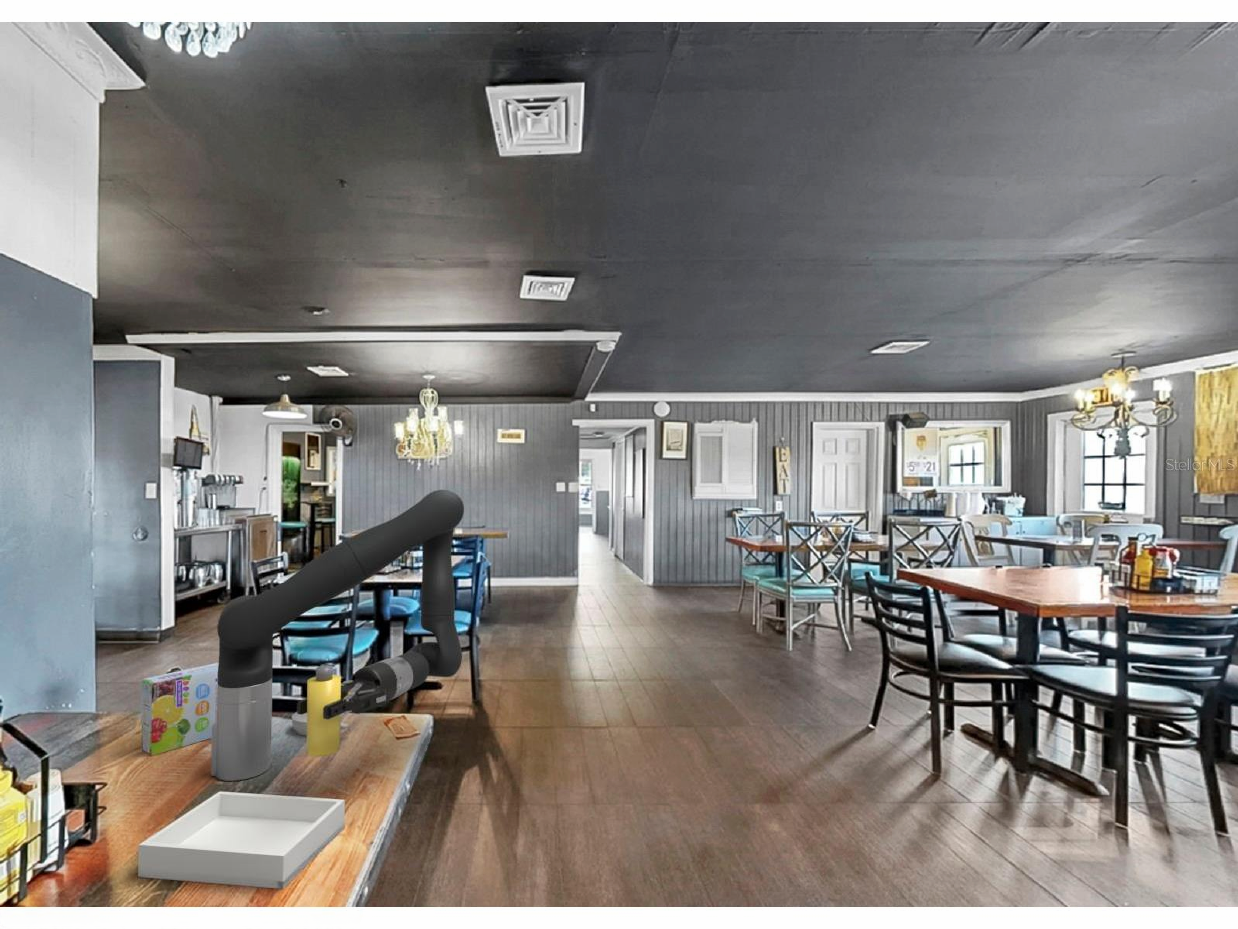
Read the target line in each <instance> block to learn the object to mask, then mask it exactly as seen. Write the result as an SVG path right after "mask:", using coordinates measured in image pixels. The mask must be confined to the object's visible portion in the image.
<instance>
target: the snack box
mask: <svg viewBox="0 0 1238 929" xmlns="http://www.w3.org/2000/svg"><path fill="white" fill-rule="evenodd" d="M218 663H219V662H214V663H210V664H207V665H201V666H196V667H192V668H187V669H183V670H182V669H181V670H177V671H174V672H169V673H164V674H159V675H155V676H150V677H146V678H142V680H141V750H142V752H144V753H146V754H147V755H149V756H152V757H153V756H156V755H160V754H162V753H166V752H169V751H173V750H175V749H180V748H182V747H187V746H190V745H193V744H197V743H201V742H203V741H206V740H212V725H213V724H215V723H217V691H218Z"/></svg>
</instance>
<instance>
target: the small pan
mask: <svg viewBox="0 0 1238 929" xmlns="http://www.w3.org/2000/svg"><path fill="white" fill-rule="evenodd" d="M344 718H345V713H342V714H340V729H347V728H348V727H349V724H347V723H344V722H343V720H344ZM291 723H292V726H293V728H294V730H295V731H296V733H297V734H299V735H302V736H306V737H307V713H305V714H302V715H301V714H297V711H296V712H295V713H293V714H292V716H291Z"/></svg>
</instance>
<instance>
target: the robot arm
mask: <svg viewBox="0 0 1238 929" xmlns="http://www.w3.org/2000/svg"><path fill="white" fill-rule="evenodd" d="M464 514H465V506H464V502H463V500H462V498H461V497H460V496H459V495H458V494H456V493H455V492H453V491H451V490H447V489H437V490H434V491H432V492H429V493H428V494H426V495H425V496H424V497H423V498H422V499H421V500H419V501H418V502H417V503H416V504H414V505H412V506H410V508H408V509H407V510H405V511H404V512H402V513H400V514H399V515H397V516H395V517H394V518H393V517H392V519H389V520H388V521H385V522H383V523H380V524H378V525H375V526H372V527H370V528H368V529H366V530H363V531H360V533H357V534H355V535H353V536H350V537H348V538H347V539H345V540H343V541H342V542H339V543H337V544H336V545H334V546H332V547H330V548H328V549H326V550H325V551H324V552H322V553H321V554H319V555H317V556H316V557H315V558H314V559H312V560H311V561H309V562H308V563H307V564H306V565H304V566H303V567H302V568H300V569H299V570H298V571H296V572H295V573H294V574H293V575H291V576H290V577H289V578H288V579H286V580H284V581H283V582H282V583H279V584H277V585H275V586H274V587H271V588H269V589H268V590H265V591H264V592H261V593H259V594H257V595H254V594H253V595H250V594H248V595H241V596H238V597H236V598H234V599H232V600H230V601H229V602H227V604H226V605H225V607H224V608H223V609H222V611H221V613H220V615H219V618H218V621H217V626H216V627H217V629H216V630H217V636H218V639H219V648H218V651H219V652H218V662H217V663H218V691H217V723H215V724H213V725H212V738H211V751H210V754H211V755H210V756H211V757H210V776H214V777H216V778H217V779H219V780H221V781H226V782H227V781H228V782H229V781H230V782H231V781H243V780H246V779H251V778H254V777H257V776H259V775H262V774H264V773H265V772H267V771H268V770H270V768H271V766H272V726H273V725H272V721H273V720H272V719H273V718H272V713H273V667H274V666H273V664H274V663H273V662H274V660H273V659H274V656H273V655H274V654H273V652H274V651H273V650H274V642H273V641H274V634H276V633H277V632H279V631H280V630H281V629H283V628H284V627H286V626H287V625H288V624H290V623H291V622H293V621H294V620H295V619H297V618H299V617H300V616H302V615H304V614H305V613H307V612H309V611H311V610H313V609H315V608H316V607H318V606H321V605H323V604H324V603H327V602H329V601H330V600H332V599H335V598H337V597H339V596H340V595H342V594H344V593H345V592H347V591H349V590H352V588H355V587H356V586H358V585H360V584H361V583H364V582H365V581H367V580H368V579H370V578H371V577H373V576H375V575H377V574H378V573H379V572H380V571H382V570H384V569H385V568H386V567H388V566H389V565H391V564H393V563H394V562H395V561H397V559H399V558H400V557H402V556H403V555H404V554H405V553H407V552H408V551H410V550H412V549H413V548H415V547H417V546H419V545H421V550H422V551H421V552H422V573H421V574H422V576H421V577H422V578H421V595H420V596H421V598H420V626H421V628H422V630H424V631H426V632H429V633H432V634H433V635H434V636H435V640H436V642H435V641H425V642H421V643H418V644H416V645H413V647H411V648H410V649H408V650H407V651H406V652H405V653H403V654H401V655H397V656H395V657H391V658H385V659H383V660H380V661H378V662H374V663H372V664H369V665H367V666H364V667H361V668H359V669H358V670H356V671H355V672H354V674H353V676H352V677H351V679H349V680H346V681H343V682H341V699H340V700H338V701H335V702H333V703H330V704H328V705H326V706H324V708H323V718H324V719H331V718H333V717H335V716H337V715H340V714H342V713H344V714H346V715H347V714H350V713H352V712H353V714H356V715H357V714H359V715H360V714H361V713H365V712H368V711H372V710H374V709H376V708H380V707H383V706H385V705H386V703H387V702H389V701H392V700H394V699H396V698H398V697H400V696H402V695H403V694H404V693H406V692H408V691H410V690H413V689H415V688H416V687H419V686H420V685H422V684H423V683H424V682H425V681H426V680H427V678H428V677H438V678H450V677H453V676H455V675H456V674H457V673H458V671H459V670H460V668H461V665H462V661H463V651H462V645H461V643H460V642H461V641H460V639H459V635H458V630H457V625H456V621H455V606H456V603H455V602H456V601H455V600H456V598H455V597H456V593H455V582H454V572H453V562H452V544H453V538H454V537H453V535H454V530H455V528H457V527H458V526H459V524H460V523H461V522H462V519H463V517H464ZM296 712H297V714H301V715H302V714H305V713H307V697H306V698H303V699H301V700H299V701H298V702H297V703H296Z"/></svg>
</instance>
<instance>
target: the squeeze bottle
mask: <svg viewBox="0 0 1238 929" xmlns="http://www.w3.org/2000/svg"><path fill="white" fill-rule="evenodd" d="M333 671H334V666H333V665H328V664H326V665H320V666H317V667H315V676H313V677H311V678H308V680H307V683H306V684H307V685H306V686H307V687H306V691H307V694H306V695H307V696H306V698H307V736H306V755H307V756H309V757H312V758H313V757H314V758H320V757H327V756H330V755H333V754H336V753H337V752H339V751H341V750H340V749H341V727H340V715H337V716H335V717H333V718H331V719H324V718H323V708H324V706H326V705H328V704H330V703H333V702H335V701H338V700H340V699H341V683H342V682H341V681H342V679H341V678H342V676H340V675H338V674H334V673H333Z"/></svg>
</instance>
